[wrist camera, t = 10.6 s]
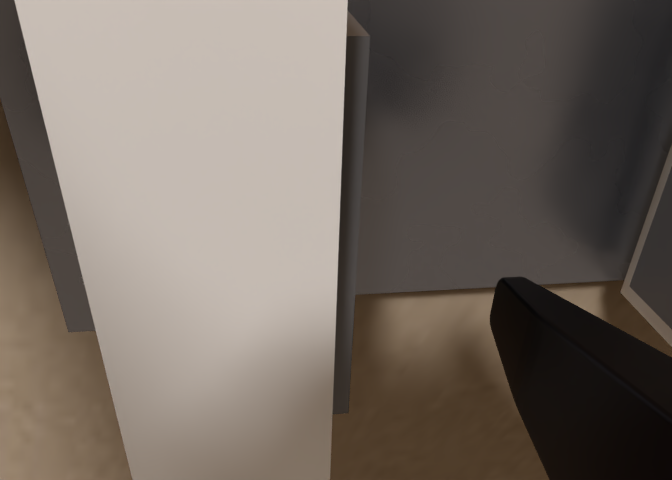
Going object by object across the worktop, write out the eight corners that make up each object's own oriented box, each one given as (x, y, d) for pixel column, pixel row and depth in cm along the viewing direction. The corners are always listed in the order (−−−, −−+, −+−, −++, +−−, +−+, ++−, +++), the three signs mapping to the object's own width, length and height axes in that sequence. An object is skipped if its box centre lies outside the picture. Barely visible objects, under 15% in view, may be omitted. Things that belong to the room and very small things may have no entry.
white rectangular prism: (175, 317, 17) (137, 499, 11) (117, -64, 11) (4, -42, 6) (324, 310, 17) (352, 481, 12) (333, -58, 12) (389, -33, 7)
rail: (3, -38, 12) (-37, -30, 11) (938, -27, 15) (1025, -19, 13) (87, 289, 17) (68, 332, 15) (793, 253, 20) (844, 286, 18)
